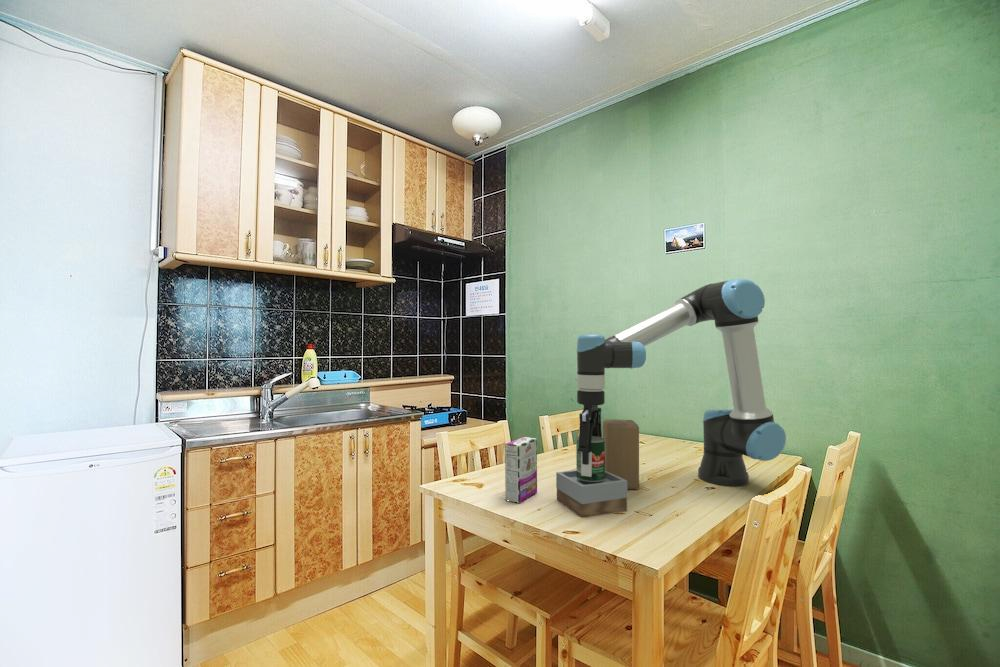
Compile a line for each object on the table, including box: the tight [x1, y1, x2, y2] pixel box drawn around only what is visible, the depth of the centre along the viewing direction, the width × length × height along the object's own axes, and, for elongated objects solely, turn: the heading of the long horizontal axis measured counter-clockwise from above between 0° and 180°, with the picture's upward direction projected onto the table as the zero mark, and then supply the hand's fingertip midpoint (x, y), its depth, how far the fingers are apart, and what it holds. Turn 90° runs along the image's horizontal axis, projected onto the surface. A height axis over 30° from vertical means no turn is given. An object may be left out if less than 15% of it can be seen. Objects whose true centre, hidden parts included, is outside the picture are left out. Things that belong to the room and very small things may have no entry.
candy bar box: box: [504, 436, 538, 504], centre depth 133 cm, size 11×5×16 cm, turn 148°
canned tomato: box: [575, 436, 605, 482], centre depth 127 cm, size 8×8×11 cm
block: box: [602, 418, 640, 490], centre depth 145 cm, size 10×10×20 cm
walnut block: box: [556, 488, 628, 518], centre depth 127 cm, size 14×14×4 cm
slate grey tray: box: [555, 469, 628, 504], centre depth 126 cm, size 14×14×4 cm
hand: (590, 471), depth 127 cm, fingers closed on canned tomato, 8 cm apart
